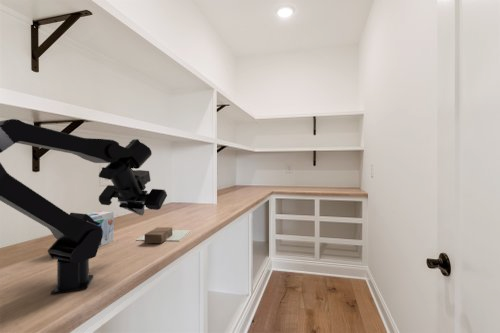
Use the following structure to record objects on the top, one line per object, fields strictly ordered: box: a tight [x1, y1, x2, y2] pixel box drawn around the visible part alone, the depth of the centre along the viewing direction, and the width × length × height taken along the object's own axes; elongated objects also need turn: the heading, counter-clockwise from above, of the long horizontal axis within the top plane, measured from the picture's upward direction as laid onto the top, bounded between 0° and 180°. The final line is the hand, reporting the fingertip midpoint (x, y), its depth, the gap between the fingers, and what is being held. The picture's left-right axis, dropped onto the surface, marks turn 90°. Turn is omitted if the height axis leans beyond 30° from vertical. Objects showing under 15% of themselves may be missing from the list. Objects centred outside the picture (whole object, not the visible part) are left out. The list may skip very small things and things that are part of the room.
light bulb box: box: [86, 210, 115, 248], centre depth 84 cm, size 11×7×11 cm, turn 168°
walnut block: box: [144, 226, 173, 244], centre depth 89 cm, size 3×6×10 cm
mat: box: [135, 229, 192, 242], centre depth 95 cm, size 14×16×1 cm
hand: (142, 214), depth 78 cm, fingers closed
